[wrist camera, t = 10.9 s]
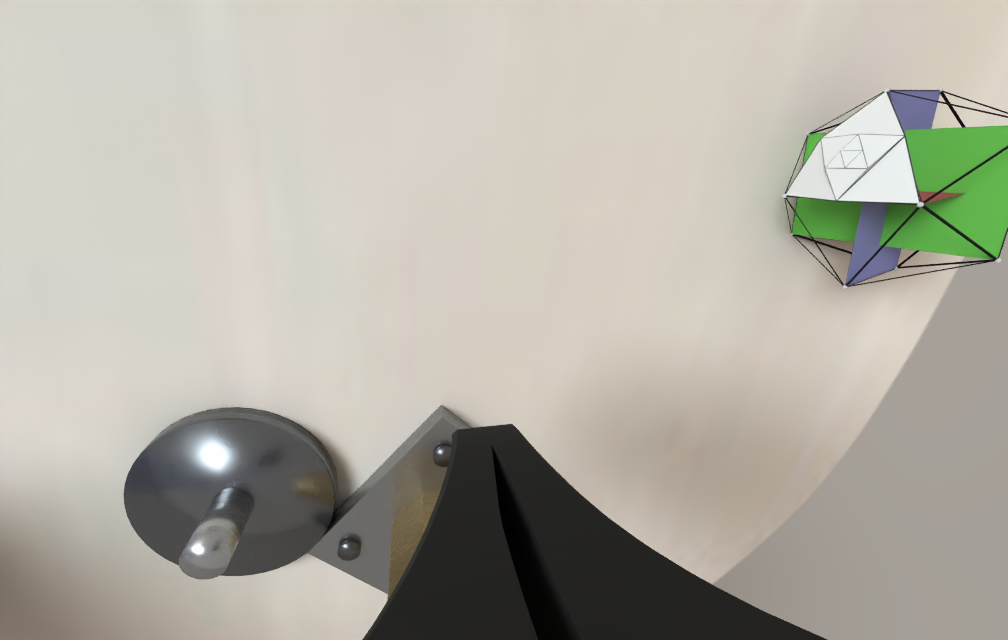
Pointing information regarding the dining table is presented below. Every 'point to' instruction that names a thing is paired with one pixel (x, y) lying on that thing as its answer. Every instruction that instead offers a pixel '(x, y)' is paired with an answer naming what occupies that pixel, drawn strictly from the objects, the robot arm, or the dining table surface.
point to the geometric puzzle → (903, 185)
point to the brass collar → (409, 535)
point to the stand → (231, 492)
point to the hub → (387, 502)
